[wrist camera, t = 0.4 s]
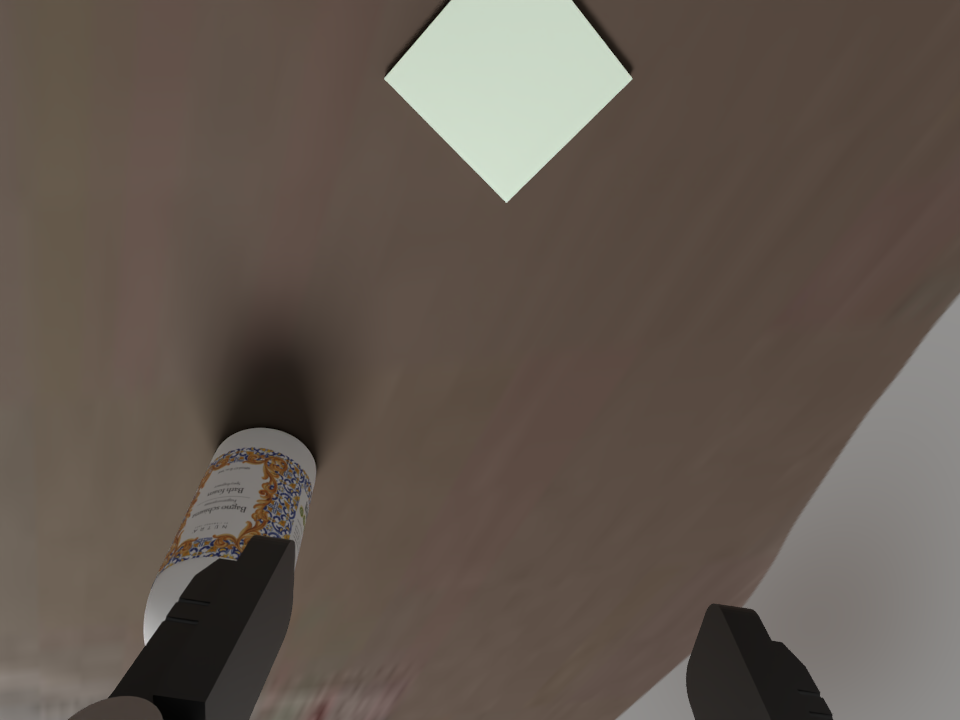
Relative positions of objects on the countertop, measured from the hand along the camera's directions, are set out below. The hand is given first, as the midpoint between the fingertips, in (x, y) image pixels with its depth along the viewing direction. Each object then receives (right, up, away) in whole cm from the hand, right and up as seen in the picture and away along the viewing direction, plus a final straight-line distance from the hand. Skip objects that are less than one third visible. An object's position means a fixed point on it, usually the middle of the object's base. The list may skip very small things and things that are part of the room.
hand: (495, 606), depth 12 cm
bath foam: (-15, -2, +31) cm, 35 cm away
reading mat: (+1, +19, +20) cm, 28 cm away
